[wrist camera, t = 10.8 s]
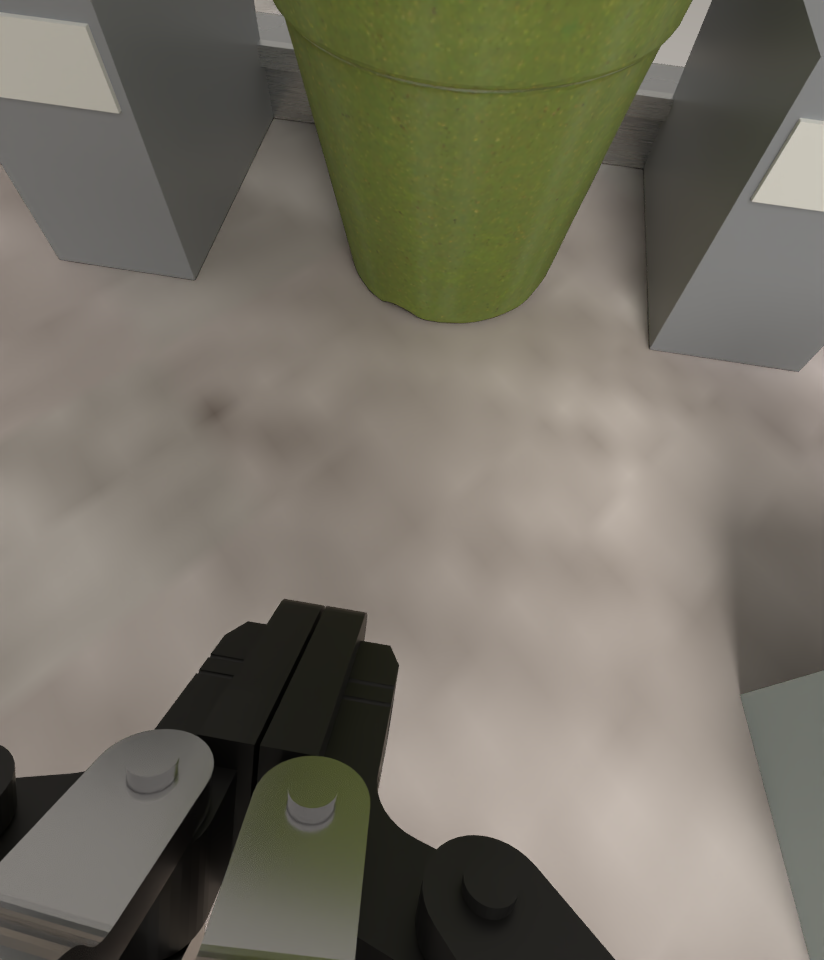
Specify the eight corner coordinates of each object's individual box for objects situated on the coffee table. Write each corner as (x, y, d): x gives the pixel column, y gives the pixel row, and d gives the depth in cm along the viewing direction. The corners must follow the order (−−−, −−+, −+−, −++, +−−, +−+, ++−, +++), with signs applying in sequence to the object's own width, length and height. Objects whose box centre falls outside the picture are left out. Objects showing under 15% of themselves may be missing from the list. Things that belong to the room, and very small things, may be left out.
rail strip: (158, 107, 26) (132, 28, 23) (178, 77, 27) (155, -2, 24) (764, 191, 24) (810, 117, 22) (758, 156, 25) (801, 82, 23)
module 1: (57, 262, 21) (-143, -63, 13) (161, 102, 26) (61, -206, 18) (193, 282, 21) (73, -35, 13) (273, 117, 26) (221, -188, 18)
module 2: (649, 352, 20) (822, 60, 12) (643, 168, 25) (763, -127, 17) (799, 375, 20) (1075, 93, 12) (763, 185, 25) (943, -107, 17)
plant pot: (463, 123, 26) (509, -294, 16) (670, 281, 22) (909, -152, 12) (224, 229, 22) (91, -231, 12) (418, 444, 18) (458, 10, 8)
